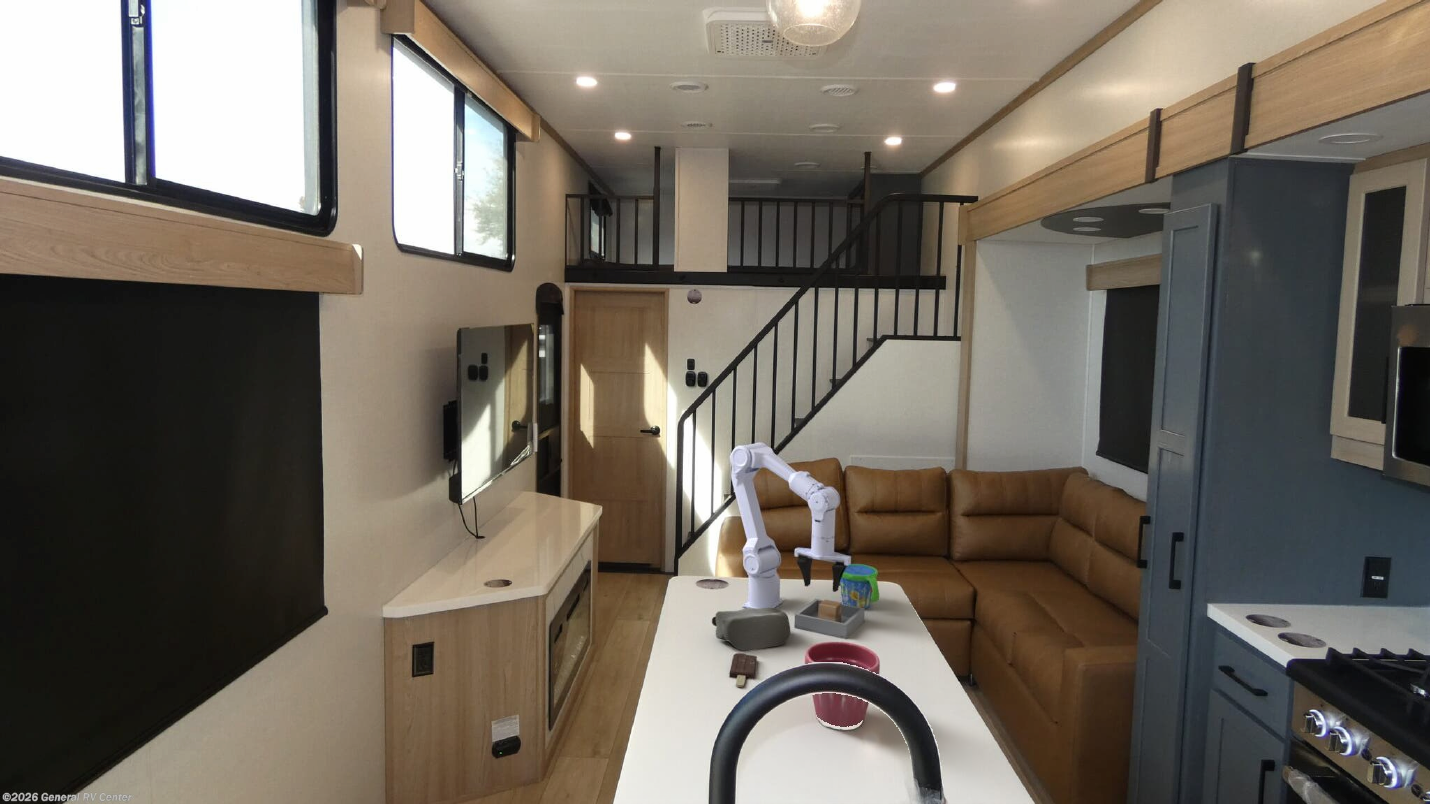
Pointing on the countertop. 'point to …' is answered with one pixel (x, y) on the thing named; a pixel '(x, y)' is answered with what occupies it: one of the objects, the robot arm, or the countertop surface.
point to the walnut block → (830, 610)
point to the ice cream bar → (742, 668)
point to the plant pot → (840, 706)
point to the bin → (811, 622)
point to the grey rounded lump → (752, 627)
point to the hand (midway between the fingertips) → (821, 588)
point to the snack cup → (859, 585)
